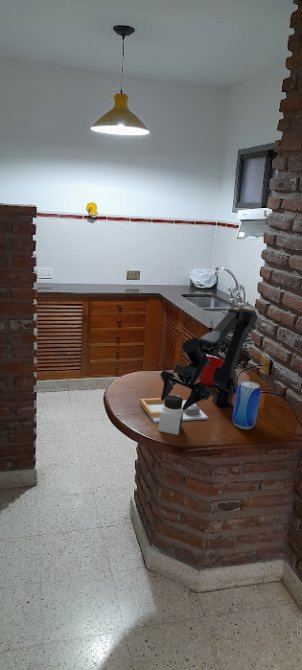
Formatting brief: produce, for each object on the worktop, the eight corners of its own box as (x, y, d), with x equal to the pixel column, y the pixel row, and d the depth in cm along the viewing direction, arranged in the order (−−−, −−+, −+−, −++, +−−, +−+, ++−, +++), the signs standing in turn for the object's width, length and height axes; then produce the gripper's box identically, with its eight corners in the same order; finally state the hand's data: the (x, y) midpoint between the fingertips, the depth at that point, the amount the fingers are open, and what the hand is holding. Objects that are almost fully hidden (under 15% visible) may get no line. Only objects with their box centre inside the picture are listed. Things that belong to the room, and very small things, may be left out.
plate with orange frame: (190, 401, 194) (191, 396, 193) (207, 419, 181) (208, 413, 180) (139, 404, 186) (140, 398, 186) (152, 422, 173) (153, 416, 172)
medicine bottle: (178, 435, 166) (183, 402, 163) (158, 431, 167) (162, 398, 164) (181, 426, 173) (186, 394, 170) (161, 422, 174) (165, 391, 171)
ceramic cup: (181, 376, 220) (183, 355, 218) (216, 377, 224) (220, 356, 221) (188, 387, 208) (191, 365, 205) (226, 388, 212) (229, 366, 209)
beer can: (249, 432, 174) (257, 391, 169) (227, 424, 178) (234, 384, 173) (257, 424, 181) (265, 384, 176) (236, 417, 185) (243, 377, 180)
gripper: (166, 348, 172) (142, 384, 167) (210, 363, 161) (186, 403, 156) (177, 364, 180) (154, 399, 175) (219, 381, 169) (197, 418, 164)
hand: (172, 404), depth 167 cm, fingers open, 9 cm apart
